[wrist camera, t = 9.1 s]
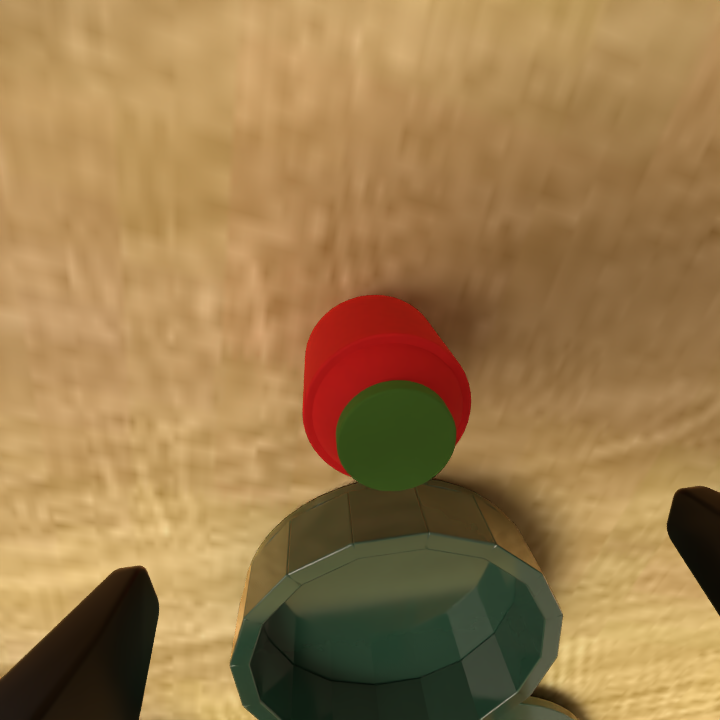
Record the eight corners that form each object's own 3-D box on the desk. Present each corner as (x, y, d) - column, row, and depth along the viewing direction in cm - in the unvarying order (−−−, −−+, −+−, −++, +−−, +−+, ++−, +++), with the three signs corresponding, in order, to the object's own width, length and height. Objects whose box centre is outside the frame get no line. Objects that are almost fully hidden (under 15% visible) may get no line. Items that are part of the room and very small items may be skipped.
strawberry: (424, 275, 15) (494, 343, 9) (427, 388, 17) (488, 505, 11) (297, 289, 15) (286, 368, 9) (314, 401, 17) (314, 529, 11)
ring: (536, 457, 19) (578, 511, 16) (519, 661, 25) (547, 730, 21) (215, 500, 18) (195, 565, 15) (271, 699, 24) (265, 777, 21)
